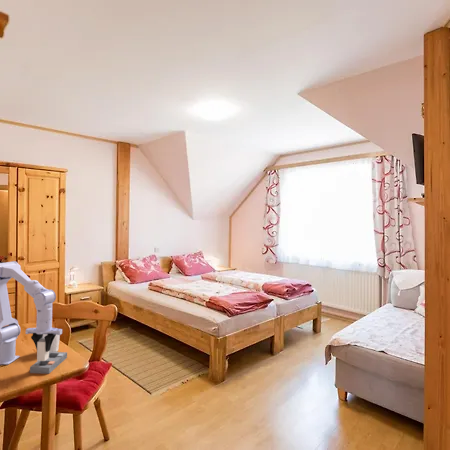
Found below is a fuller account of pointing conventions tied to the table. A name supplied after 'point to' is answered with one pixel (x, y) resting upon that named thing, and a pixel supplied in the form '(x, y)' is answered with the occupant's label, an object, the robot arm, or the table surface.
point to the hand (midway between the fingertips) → (43, 350)
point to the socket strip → (49, 363)
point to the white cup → (54, 343)
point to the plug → (42, 350)
